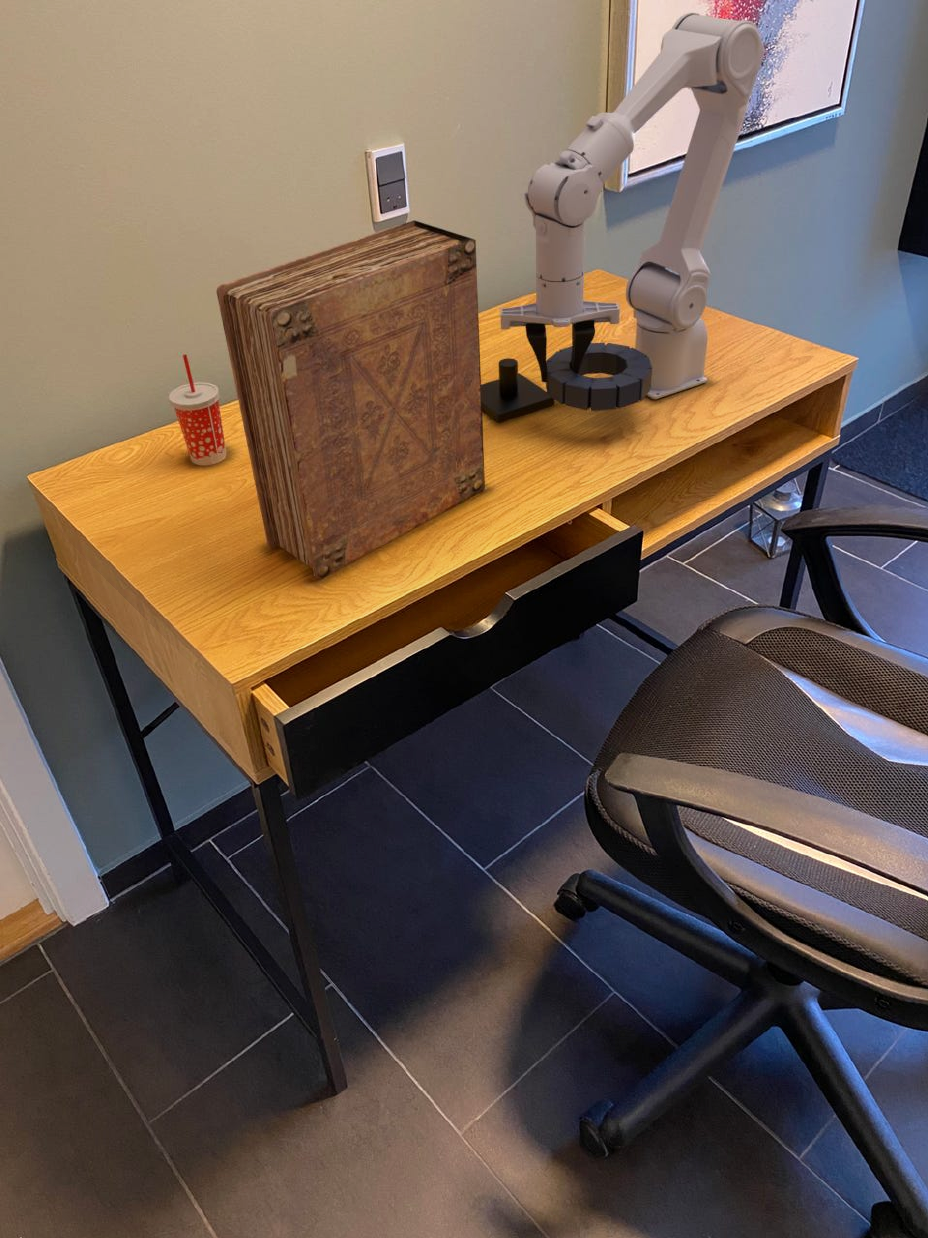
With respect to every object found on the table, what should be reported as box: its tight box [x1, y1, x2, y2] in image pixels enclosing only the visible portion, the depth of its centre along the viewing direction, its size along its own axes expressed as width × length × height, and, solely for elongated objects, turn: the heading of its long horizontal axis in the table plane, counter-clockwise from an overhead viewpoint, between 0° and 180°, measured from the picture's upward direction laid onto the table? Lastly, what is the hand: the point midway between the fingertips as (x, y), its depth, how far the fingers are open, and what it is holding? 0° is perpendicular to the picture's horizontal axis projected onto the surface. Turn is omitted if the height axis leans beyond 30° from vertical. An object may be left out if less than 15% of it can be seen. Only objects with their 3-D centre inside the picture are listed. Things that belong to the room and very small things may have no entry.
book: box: [215, 220, 486, 580], centre depth 107 cm, size 25×9×30 cm, turn 133°
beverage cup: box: [168, 354, 228, 466], centre depth 125 cm, size 6×6×14 cm
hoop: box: [545, 342, 652, 412], centre depth 128 cm, size 13×13×3 cm
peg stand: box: [481, 357, 555, 424], centre depth 136 cm, size 9×9×6 cm
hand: (558, 377), depth 128 cm, fingers closed on hoop, 3 cm apart
